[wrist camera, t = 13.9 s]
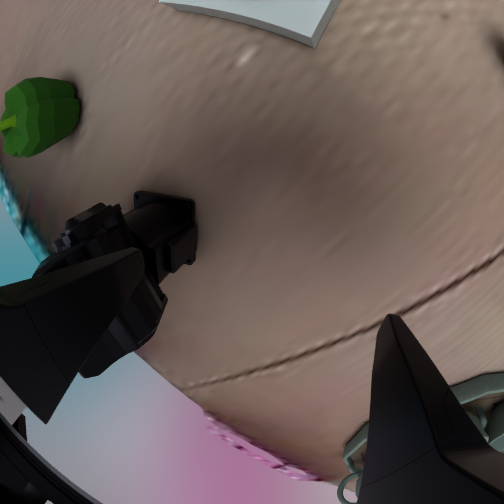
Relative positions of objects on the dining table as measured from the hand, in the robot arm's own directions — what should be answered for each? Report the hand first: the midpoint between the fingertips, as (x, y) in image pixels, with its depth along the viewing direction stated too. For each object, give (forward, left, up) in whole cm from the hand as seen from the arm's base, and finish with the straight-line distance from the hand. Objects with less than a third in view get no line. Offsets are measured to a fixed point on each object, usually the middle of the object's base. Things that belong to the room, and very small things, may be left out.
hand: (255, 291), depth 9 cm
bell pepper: (-26, +6, -13) cm, 30 cm away
